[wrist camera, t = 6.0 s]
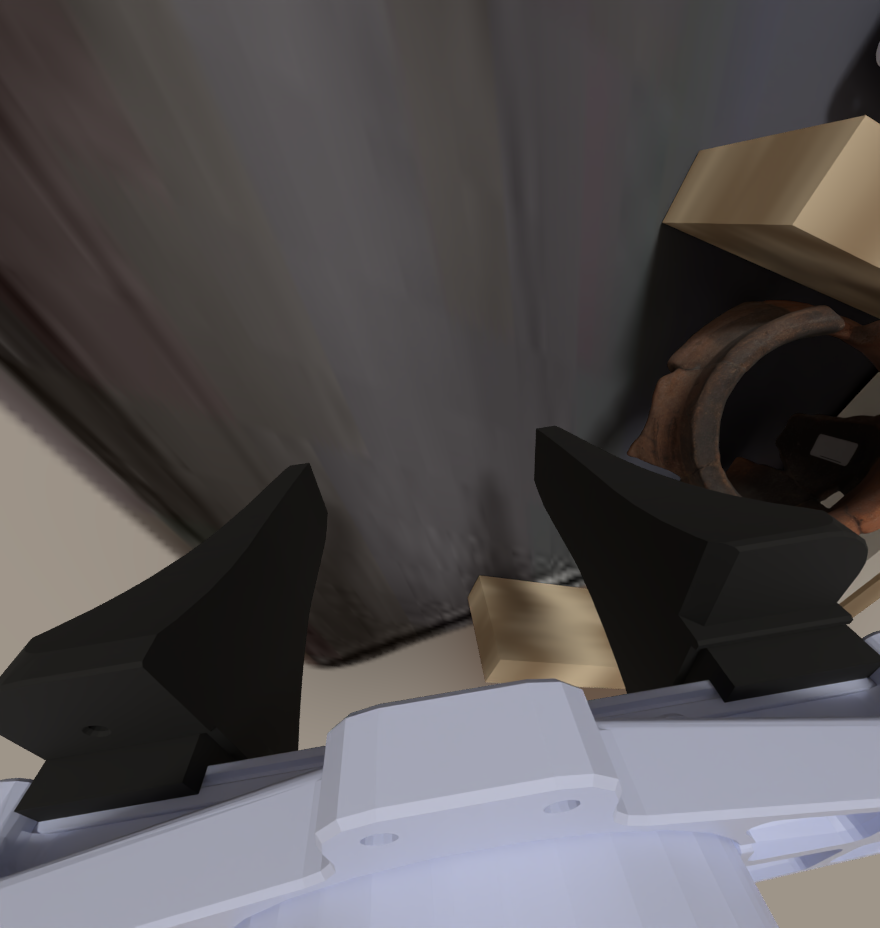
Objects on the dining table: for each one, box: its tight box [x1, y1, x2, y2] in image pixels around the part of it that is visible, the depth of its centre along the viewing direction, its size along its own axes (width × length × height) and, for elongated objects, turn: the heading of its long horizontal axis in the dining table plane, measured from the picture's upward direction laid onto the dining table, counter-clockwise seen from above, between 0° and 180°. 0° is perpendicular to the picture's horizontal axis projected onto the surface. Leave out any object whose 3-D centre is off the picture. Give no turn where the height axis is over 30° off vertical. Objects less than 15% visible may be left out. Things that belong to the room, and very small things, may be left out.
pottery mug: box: [627, 300, 880, 535], centre depth 15 cm, size 12×9×8 cm
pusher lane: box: [468, 115, 880, 689], centre depth 17 cm, size 18×22×5 cm
